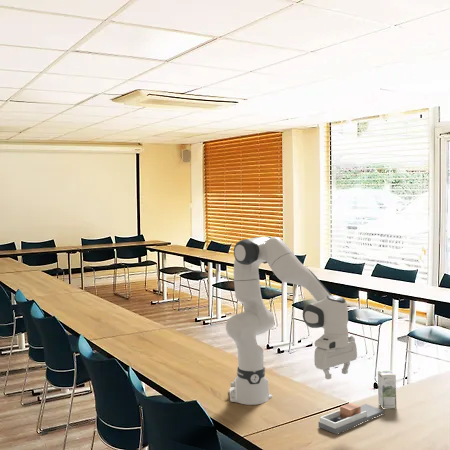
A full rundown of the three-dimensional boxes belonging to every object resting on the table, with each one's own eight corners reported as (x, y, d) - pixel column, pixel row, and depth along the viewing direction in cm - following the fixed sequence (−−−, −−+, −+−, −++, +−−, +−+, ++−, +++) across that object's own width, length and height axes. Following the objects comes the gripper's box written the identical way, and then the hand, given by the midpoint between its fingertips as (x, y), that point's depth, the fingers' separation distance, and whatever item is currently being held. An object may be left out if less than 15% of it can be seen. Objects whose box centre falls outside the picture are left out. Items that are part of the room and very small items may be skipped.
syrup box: (392, 404, 237) (391, 369, 236) (397, 409, 231) (395, 373, 230) (378, 405, 237) (377, 370, 236) (383, 410, 231) (381, 374, 230)
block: (350, 420, 216) (350, 410, 216) (340, 416, 220) (340, 406, 220) (360, 416, 220) (360, 406, 219) (350, 412, 224) (350, 402, 223)
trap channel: (336, 434, 208) (336, 424, 208) (318, 426, 216) (318, 416, 215) (384, 415, 226) (384, 405, 225) (365, 408, 233) (365, 399, 232)
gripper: (347, 333, 222) (348, 368, 223) (311, 342, 209) (311, 379, 210) (360, 336, 217) (361, 372, 218) (324, 346, 204) (324, 384, 205)
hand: (336, 376), depth 214 cm, fingers open, 8 cm apart
